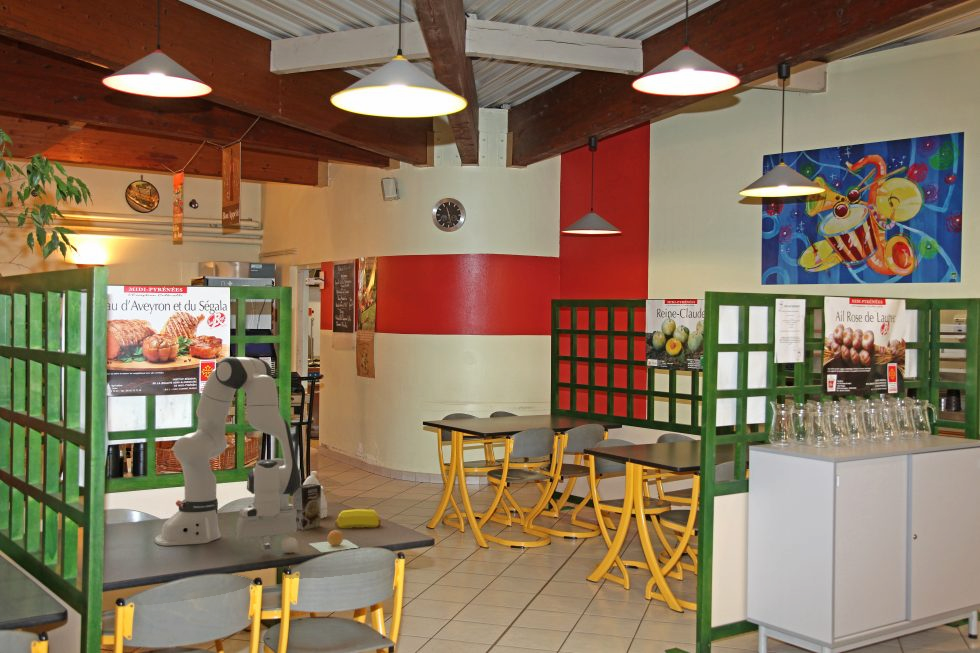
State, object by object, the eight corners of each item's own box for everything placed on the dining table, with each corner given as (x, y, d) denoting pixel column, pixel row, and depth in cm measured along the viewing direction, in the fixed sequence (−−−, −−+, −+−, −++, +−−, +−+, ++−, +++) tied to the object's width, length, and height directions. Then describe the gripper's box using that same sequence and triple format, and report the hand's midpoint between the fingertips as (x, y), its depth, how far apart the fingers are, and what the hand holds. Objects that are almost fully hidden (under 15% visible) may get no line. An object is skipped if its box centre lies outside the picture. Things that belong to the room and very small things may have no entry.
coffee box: (303, 530, 341) (303, 488, 341) (291, 528, 345) (292, 486, 345) (321, 526, 348) (321, 484, 348) (310, 524, 352) (310, 483, 352)
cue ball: (297, 542, 304) (298, 555, 306) (296, 532, 308) (297, 544, 311) (280, 545, 302) (282, 557, 305) (279, 534, 307) (281, 547, 309)
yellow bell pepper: (381, 528, 346) (381, 524, 354) (381, 511, 346) (381, 507, 354) (334, 529, 343) (334, 525, 351) (334, 512, 343) (335, 508, 351)
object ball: (346, 544, 316) (332, 549, 313) (340, 541, 321) (326, 546, 318) (344, 529, 316) (329, 534, 313) (338, 526, 320) (324, 531, 318)
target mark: (321, 552, 307) (321, 552, 307) (308, 544, 319) (308, 543, 319) (359, 548, 314) (359, 547, 314) (345, 539, 326) (345, 539, 326)
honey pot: (305, 512, 375) (306, 469, 375) (332, 514, 371) (333, 471, 371) (288, 518, 363) (289, 473, 363) (316, 520, 359) (317, 475, 359)
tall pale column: (263, 511, 376) (263, 459, 376) (264, 509, 380) (265, 457, 380) (289, 511, 377) (289, 458, 377) (290, 509, 381) (290, 457, 381)
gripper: (294, 504, 313) (293, 543, 313) (234, 509, 303) (234, 550, 302) (299, 507, 307) (299, 547, 307) (239, 513, 297) (239, 554, 297)
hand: (266, 549), depth 305 cm, fingers closed
